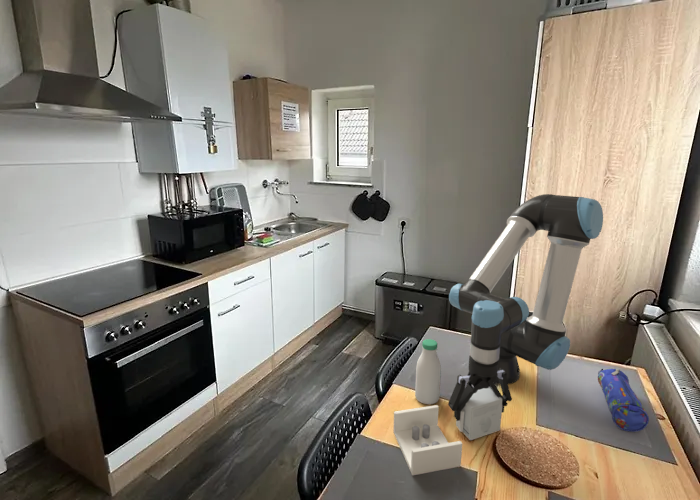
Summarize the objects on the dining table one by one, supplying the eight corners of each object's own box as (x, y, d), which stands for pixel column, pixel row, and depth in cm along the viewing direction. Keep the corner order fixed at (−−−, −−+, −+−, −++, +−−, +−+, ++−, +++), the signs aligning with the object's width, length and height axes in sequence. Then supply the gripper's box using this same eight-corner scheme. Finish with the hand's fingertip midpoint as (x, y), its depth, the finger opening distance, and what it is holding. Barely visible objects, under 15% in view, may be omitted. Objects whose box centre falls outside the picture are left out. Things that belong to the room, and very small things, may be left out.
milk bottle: (439, 406, 119) (443, 349, 113) (414, 403, 120) (416, 347, 115) (438, 391, 126) (442, 337, 121) (415, 388, 127) (417, 335, 122)
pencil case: (594, 386, 128) (599, 361, 126) (624, 391, 125) (630, 366, 122) (610, 430, 108) (616, 401, 106) (646, 438, 105) (653, 409, 103)
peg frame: (435, 425, 111) (437, 404, 109) (460, 466, 97) (462, 443, 95) (393, 432, 108) (393, 411, 106) (412, 475, 94) (413, 452, 92)
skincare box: (485, 415, 113) (488, 385, 110) (500, 430, 107) (503, 399, 104) (455, 425, 110) (457, 394, 107) (469, 441, 104) (472, 408, 101)
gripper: (514, 344, 108) (507, 409, 114) (437, 355, 104) (434, 422, 110) (531, 358, 101) (522, 427, 107) (450, 371, 96) (446, 441, 103)
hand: (478, 424), depth 108 cm, fingers closed on skincare box, 11 cm apart
